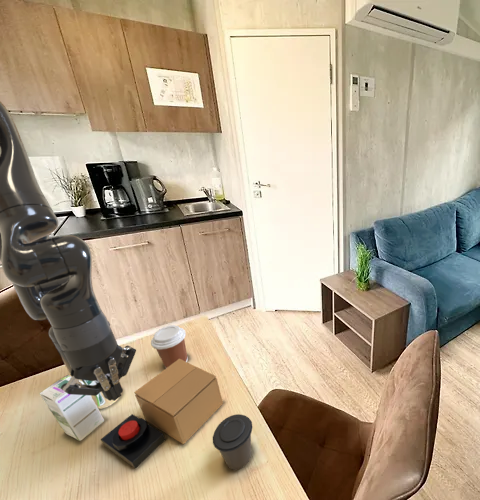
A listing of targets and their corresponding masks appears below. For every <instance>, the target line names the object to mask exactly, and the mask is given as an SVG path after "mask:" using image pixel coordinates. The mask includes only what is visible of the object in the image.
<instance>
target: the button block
mask: <svg viewBox="0 0 480 500" xmlns="http://www.w3.org/2000/svg"><path fill="white" fill-rule="evenodd" d="M129 421H137V423H138V425H139V428H140V429H139V432H138V433H137V434H136V435H135V436H134V437H133V438H131V439H129V440H122V439H121V437H120V436H119V433H118V432H119V429H120V428H121V426H123V425H124V424H125V423H127V422H129ZM100 441H101V442H102V444H103V446H104V447H106V448H107V449H108V450H109V451H111V452H112V453H113V454H114V455H116V456H118V457H119V458H120V459H121V460H123V461H124V462H126V463H127V464H128V465H129V466H131V467H132V468H133V469H137V468H138V467H139V466H140V465H141V464H142V463H143V462H144V461H145V460H146V459H147V458H148V457H149V456H150V455H151V454H152V453H154V452H155V450H157V449H158V447H160V446H161V445H162V444H163V443H164V442H165V441H166V438H165V434H164V432H162V431H161V430H159V429H157V428H156V427H154V426H153V425H151V424H150V423H148V422H147V421H146V419H145V418H143V417H140V418H139V417H138V416H136V415H135V414H133V413H131V414H130V415H128V417H127V418H125V419H124V420H123V421H121V422H120V423H119V424H117V426H115V427H114V428H113V429H112V430H110V431H108V433H107V434H105V435H104V436H103V437H102V438H100Z"/></svg>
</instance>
